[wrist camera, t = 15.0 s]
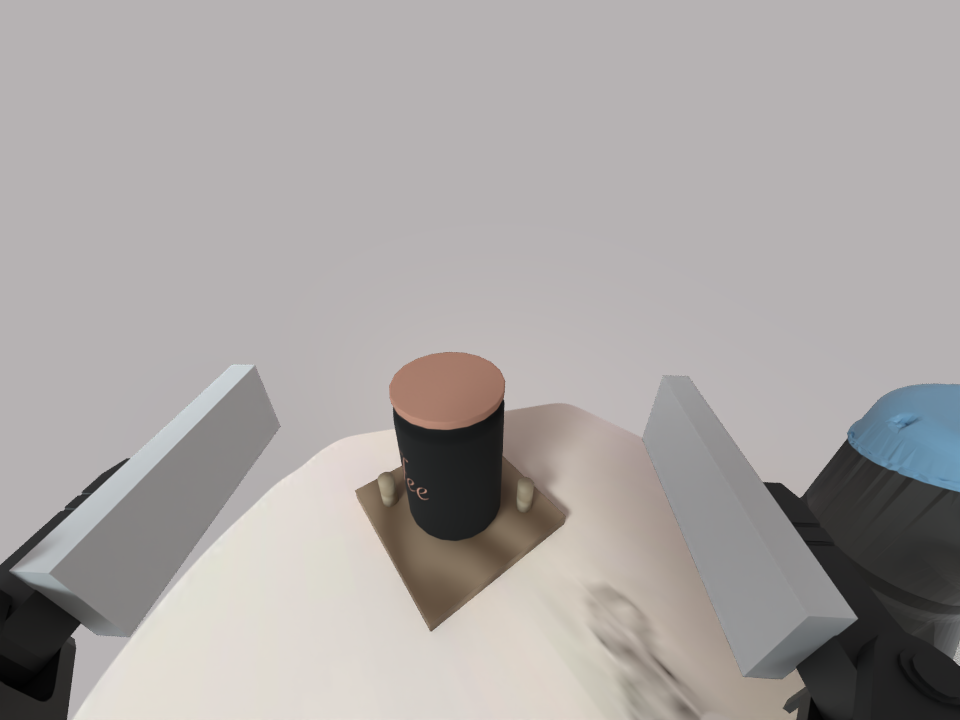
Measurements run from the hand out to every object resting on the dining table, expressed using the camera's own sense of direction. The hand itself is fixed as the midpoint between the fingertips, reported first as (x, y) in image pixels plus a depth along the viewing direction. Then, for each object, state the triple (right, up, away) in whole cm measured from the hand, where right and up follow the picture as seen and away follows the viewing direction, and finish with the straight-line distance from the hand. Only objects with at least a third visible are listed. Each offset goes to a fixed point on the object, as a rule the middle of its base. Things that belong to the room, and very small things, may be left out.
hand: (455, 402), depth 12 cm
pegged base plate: (-2, -17, +32) cm, 37 cm away
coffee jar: (-2, -16, +32) cm, 35 cm away
